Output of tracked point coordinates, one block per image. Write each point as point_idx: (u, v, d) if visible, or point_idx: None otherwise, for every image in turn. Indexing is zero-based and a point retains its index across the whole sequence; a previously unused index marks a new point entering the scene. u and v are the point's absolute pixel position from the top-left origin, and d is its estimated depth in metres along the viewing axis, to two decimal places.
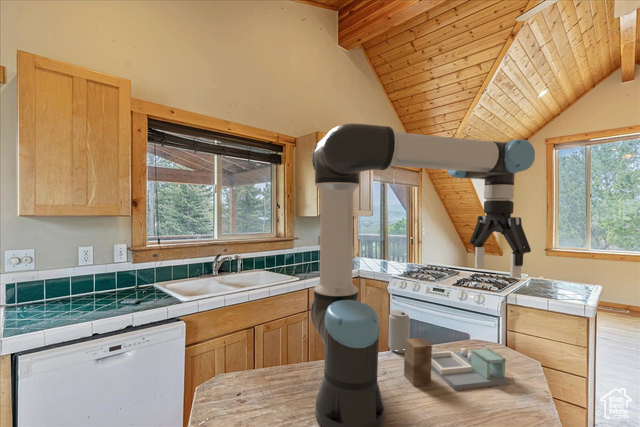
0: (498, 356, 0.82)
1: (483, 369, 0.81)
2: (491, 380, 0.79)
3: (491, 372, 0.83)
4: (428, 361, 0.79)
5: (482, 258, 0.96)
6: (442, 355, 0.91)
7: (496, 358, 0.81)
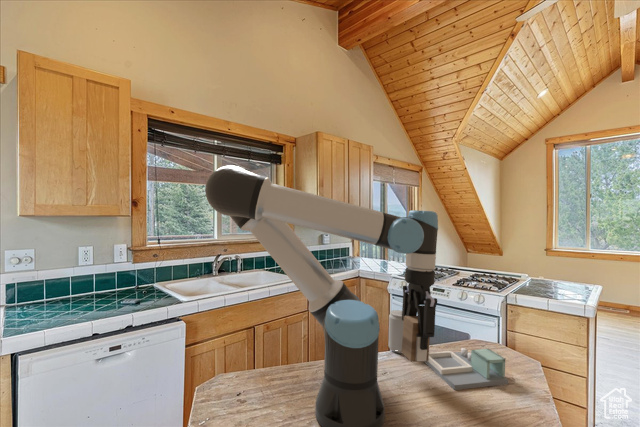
0: (498, 356, 0.82)
1: (483, 369, 0.81)
2: (491, 380, 0.79)
3: (491, 372, 0.83)
4: None
5: None
6: (442, 355, 0.91)
7: (496, 358, 0.81)
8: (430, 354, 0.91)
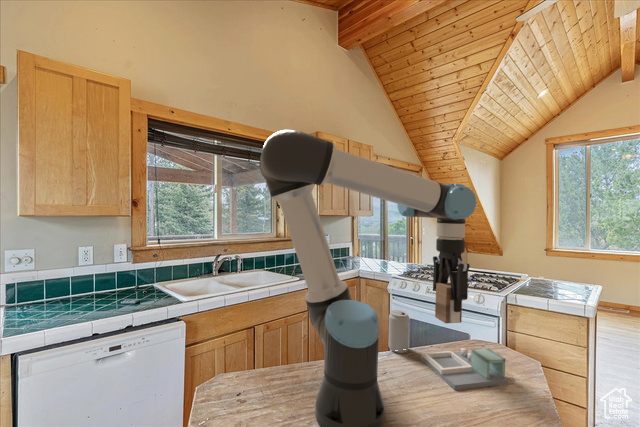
0: (498, 356, 0.82)
1: (483, 369, 0.81)
2: (491, 380, 0.79)
3: (491, 372, 0.83)
4: None
5: None
6: (442, 355, 0.91)
7: (496, 358, 0.81)
8: (430, 354, 0.91)
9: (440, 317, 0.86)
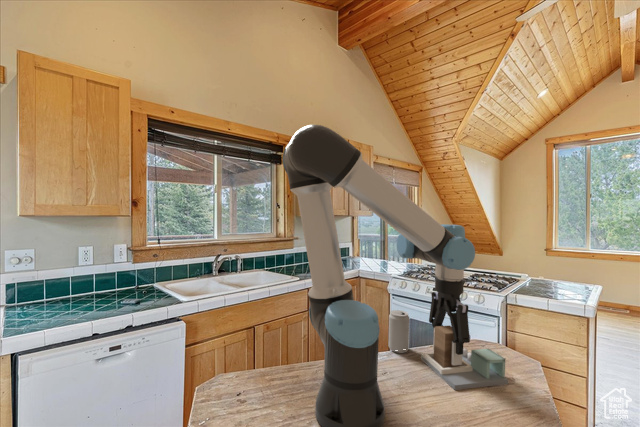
0: (498, 356, 0.82)
1: (483, 369, 0.81)
2: (491, 380, 0.79)
3: (491, 372, 0.83)
4: None
5: None
6: None
7: (496, 358, 0.81)
8: (430, 354, 0.91)
9: (438, 362, 0.86)
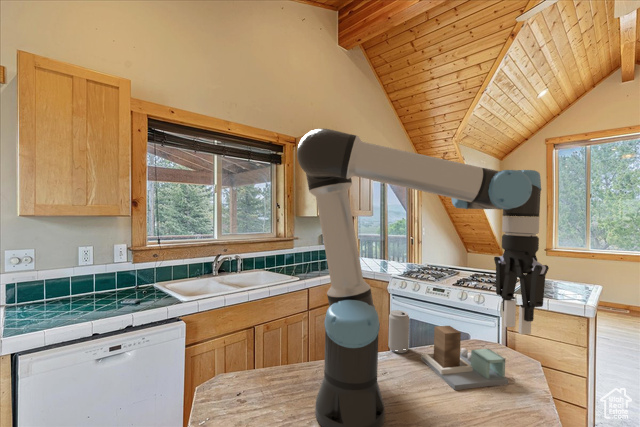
0: (498, 356, 0.82)
1: (483, 369, 0.81)
2: (491, 380, 0.79)
3: (491, 372, 0.83)
4: (457, 346, 0.85)
5: (513, 314, 0.76)
6: None
7: (496, 358, 0.81)
8: (430, 354, 0.91)
9: (438, 362, 0.86)
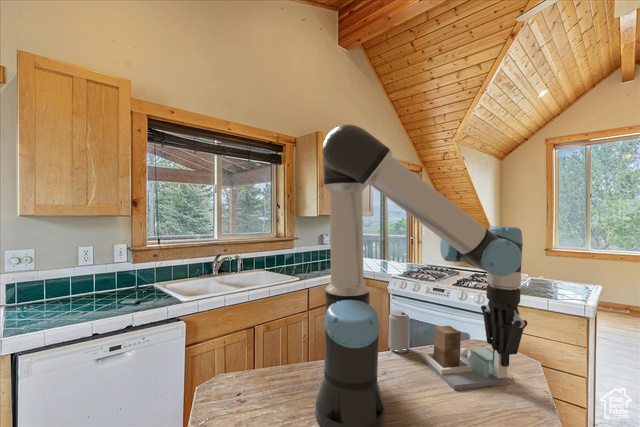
0: None
1: (482, 369, 0.81)
2: (491, 380, 0.79)
3: (491, 372, 0.83)
4: (457, 346, 0.85)
5: None
6: None
7: None
8: (430, 354, 0.91)
9: (438, 362, 0.86)
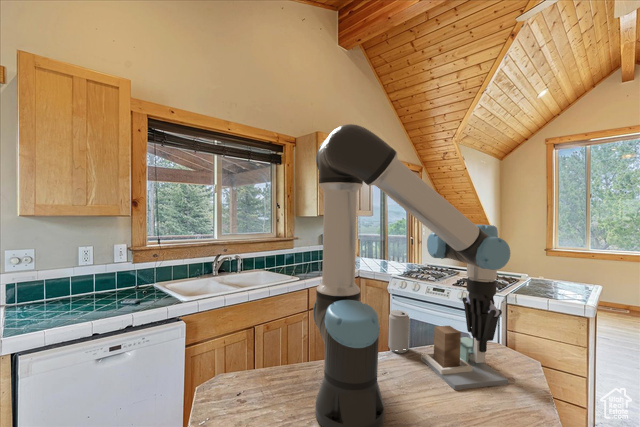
0: None
1: (463, 355, 0.89)
2: (491, 380, 0.79)
3: (491, 372, 0.83)
4: (457, 346, 0.85)
5: None
6: None
7: None
8: (430, 354, 0.91)
9: (438, 362, 0.86)
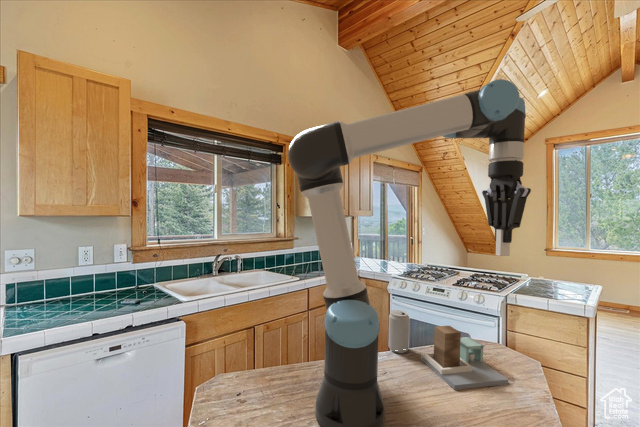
0: (477, 343, 0.90)
1: (463, 355, 0.89)
2: (491, 380, 0.79)
3: (491, 372, 0.83)
4: (457, 346, 0.85)
5: None
6: None
7: (475, 345, 0.89)
8: (430, 354, 0.91)
9: (438, 362, 0.86)
